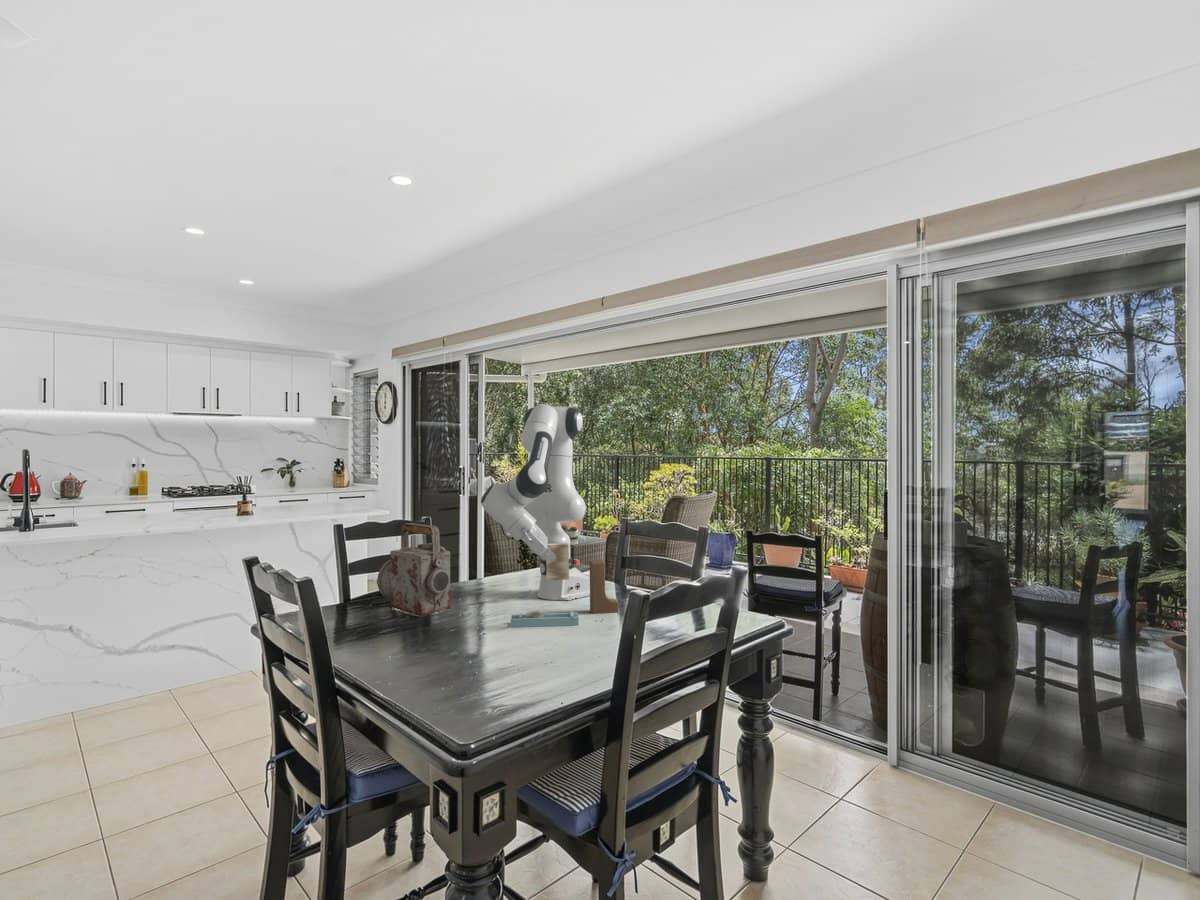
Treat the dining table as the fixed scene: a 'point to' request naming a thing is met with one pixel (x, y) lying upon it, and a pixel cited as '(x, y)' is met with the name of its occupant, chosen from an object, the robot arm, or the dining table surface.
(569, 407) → the robot arm
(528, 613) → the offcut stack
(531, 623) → the rack
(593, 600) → the wooden block
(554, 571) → the beige rectangular slab
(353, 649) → the dining table surface
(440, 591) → the lantern
